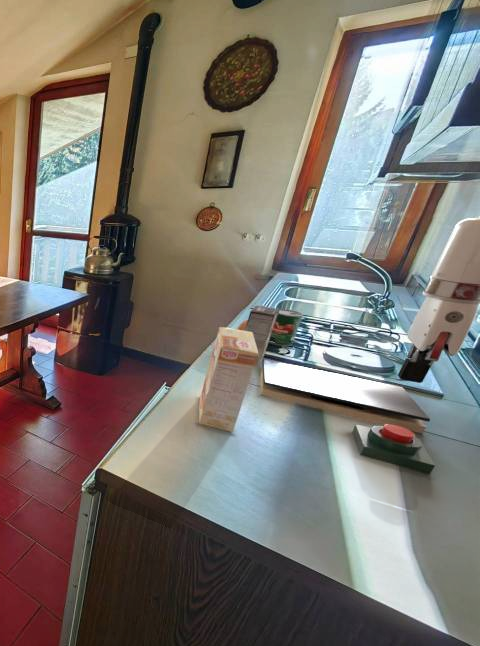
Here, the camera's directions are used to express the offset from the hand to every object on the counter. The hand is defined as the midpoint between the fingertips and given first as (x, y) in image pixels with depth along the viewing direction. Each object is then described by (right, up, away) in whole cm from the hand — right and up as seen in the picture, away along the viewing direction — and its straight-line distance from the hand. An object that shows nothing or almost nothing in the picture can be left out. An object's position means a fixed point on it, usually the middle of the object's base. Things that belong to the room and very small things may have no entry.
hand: (409, 379), depth 78 cm
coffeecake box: (-29, -10, +16) cm, 34 cm away
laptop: (+7, -6, +25) cm, 26 cm away
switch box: (-1, -15, +3) cm, 16 cm away
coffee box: (+2, +4, +47) cm, 47 cm away
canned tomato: (+21, +9, +60) cm, 64 cm away
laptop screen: (+7, -4, +24) cm, 25 cm away
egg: (+7, +8, +57) cm, 58 cm away
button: (-1, -12, +2) cm, 12 cm away
